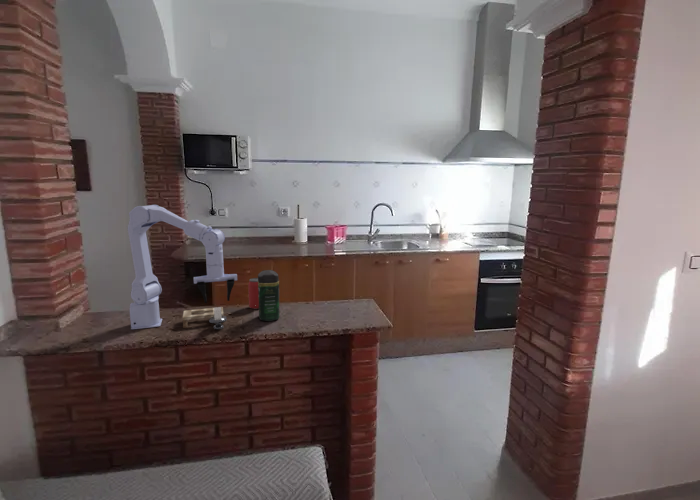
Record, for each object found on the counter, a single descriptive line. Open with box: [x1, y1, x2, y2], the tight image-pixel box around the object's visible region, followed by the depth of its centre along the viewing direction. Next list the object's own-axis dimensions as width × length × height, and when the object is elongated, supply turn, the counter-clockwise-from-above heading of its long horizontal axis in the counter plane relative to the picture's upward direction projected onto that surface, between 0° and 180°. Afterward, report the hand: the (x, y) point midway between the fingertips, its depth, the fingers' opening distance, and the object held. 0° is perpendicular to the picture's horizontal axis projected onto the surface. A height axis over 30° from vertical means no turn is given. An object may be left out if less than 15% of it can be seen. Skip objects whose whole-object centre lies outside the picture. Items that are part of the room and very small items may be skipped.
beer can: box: [247, 277, 259, 310], centre depth 164 cm, size 7×7×12 cm
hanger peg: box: [208, 306, 228, 331], centre depth 141 cm, size 6×6×7 cm
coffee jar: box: [257, 269, 280, 322], centre depth 151 cm, size 10×8×19 cm
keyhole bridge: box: [182, 306, 225, 329], centre depth 147 cm, size 14×8×4 cm, turn 110°
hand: (217, 301), depth 139 cm, fingers open, 7 cm apart
